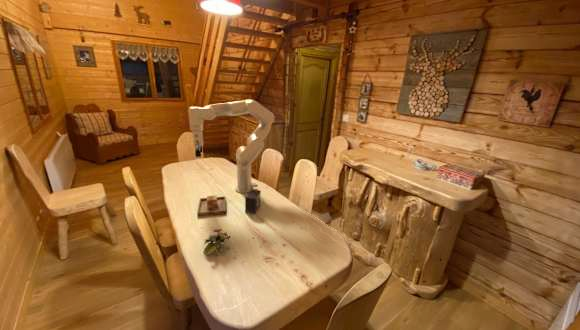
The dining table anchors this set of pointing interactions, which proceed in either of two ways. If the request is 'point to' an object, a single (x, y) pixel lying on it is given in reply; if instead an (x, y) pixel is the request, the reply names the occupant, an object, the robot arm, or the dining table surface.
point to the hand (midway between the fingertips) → (199, 154)
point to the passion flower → (217, 239)
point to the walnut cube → (211, 201)
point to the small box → (252, 201)
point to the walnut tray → (211, 211)
